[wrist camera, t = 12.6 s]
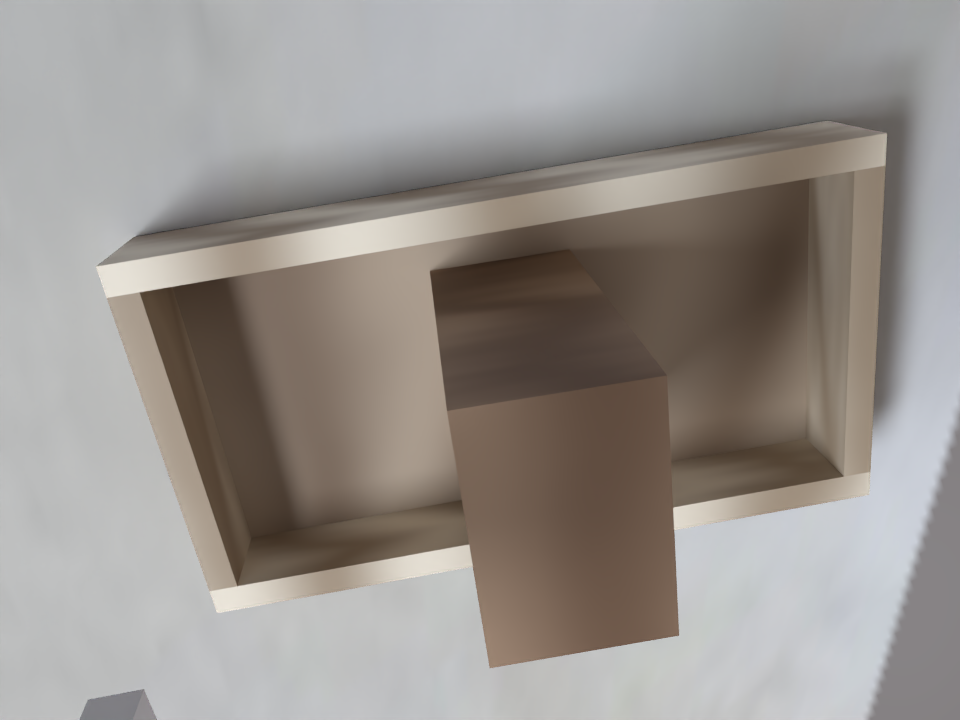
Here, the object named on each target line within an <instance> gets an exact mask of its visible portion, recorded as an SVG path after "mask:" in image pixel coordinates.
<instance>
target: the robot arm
mask: <svg viewBox="0 0 960 720" xmlns="http://www.w3.org/2000/svg"><path fill="white" fill-rule="evenodd" d="M80 720H157V719H156V716H155V714H154V712H153V710H152V707H151V705H150V703H149V700H148V698H147V696H146V693H145V691H144V689H143V690H138V691H133V692H127V693H122V694H117V695H111V696H106V697H101V698H95V699H90V700H88V701H87V704H86V706H85V708H84V711H83V713H82V715H81V717H80Z"/></svg>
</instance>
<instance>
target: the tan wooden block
mask: <svg viewBox="0 0 960 720" xmlns="http://www.w3.org/2000/svg"><path fill="white" fill-rule="evenodd" d="M430 278H431V286H432V294H433V302H434V310H435V318H436V326H437V335H438V343H439V351H440V359H441V367H442V375H443V383H444V392H445V400H446V408H447V415H448V421H449V427H450V433H451V439H452V445H453V451H454V457H455V463H456V469H457V475H458V480H459V486H460V492H461V498H462V504H463V510H464V516H465V522H466V528H467V534H468V540H469V546H470V552H471V558H472V564H473V570H474V576H475V582H476V588H477V594H478V600H479V606H480V612H481V618H482V624H483V630H484V636H485V642H486V648H487V654H488V660H489V666H490V668H493V667H499V666H505V665H511V664H517V663H522V662H528V661H534V660H540V659H546V658H551V657H557V656H563V655H569V654H575V653H580V652H586V651H592V650H598V649H603V648H609V647H615V646H621V645H627V644H632V643H638V642H644V641H650V640H656V639H661V638H667V637H673V636H679V625H678V603H677V581H676V560H675V538H674V516H673V494H672V472H671V450H670V428H669V406H668V384H667V375H666V373H665V372H664V371H663V370H662V368H661V367H660V366H659V364H658V363H657V362H656V360H655V359H654V358H653V357H652V355H651V354H650V353H649V351H648V350H647V349H646V348H645V346H644V345H643V344H642V342H641V341H640V340H639V338H638V337H637V336H636V335H635V333H634V332H633V331H632V329H631V328H630V327H629V326H628V324H627V323H626V322H625V320H624V319H623V318H622V317H621V315H620V314H619V313H618V311H617V310H616V309H615V307H614V306H613V305H612V304H611V302H610V301H609V300H608V298H607V297H606V296H605V295H604V293H603V292H602V291H601V289H600V288H599V287H598V286H597V284H596V283H595V282H594V280H593V279H592V278H591V276H590V275H589V274H588V273H587V271H586V270H585V269H584V267H583V266H582V265H581V264H580V262H579V261H578V260H577V258H576V257H575V256H574V255H573V253H572V252H571V251H570V249H568V250H561V251H555V252H548V253H542V254H536V255H529V256H523V257H516V258H510V259H503V260H497V261H491V262H484V263H478V264H471V265H465V266H458V267H452V268H445V269H439V270H433V271H430Z"/></svg>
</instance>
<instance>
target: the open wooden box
mask: <svg viewBox="0 0 960 720" xmlns="http://www.w3.org/2000/svg"><path fill="white" fill-rule="evenodd" d="M886 146H887V133H884V132H880V131H875V130H870V129H865V128H861V127H856V126H851V125H846V124H842V123H837V122H832V121H822V122H816V123H810V124H804V125H798V126H792V127H786V128H780V129H774V130H768V131H762V132H756V133H750V134H744V135H738V136H732V137H726V138H720V139H714V140H708V141H702V142H697V143H691V144H685V145H679V146H673V147H667V148H661V149H655V150H649V151H643V152H637V153H631V154H625V155H619V156H613V157H607V158H601V159H595V160H589V161H583V162H577V163H572V164H566V165H560V166H554V167H548V168H542V169H536V170H530V171H524V172H518V173H512V174H506V175H500V176H494V177H488V178H482V179H476V180H470V181H464V182H458V183H452V184H447V185H441V186H435V187H429V188H423V189H417V190H411V191H405V192H399V193H393V194H387V195H381V196H375V197H369V198H363V199H357V200H351V201H345V202H339V203H333V204H327V205H322V206H316V207H310V208H304V209H298V210H292V211H286V212H280V213H274V214H268V215H262V216H256V217H250V218H244V219H238V220H232V221H226V222H220V223H214V224H208V225H202V226H197V227H191V228H185V229H179V230H173V231H167V232H161V233H155V234H149V235H143V236H137V237H133V238H132V239H131V240H130V241H128V242H127V243H126V244H124V245H123V246H122V247H121V248H119V249H118V250H117V251H115V252H114V253H113V254H111V255H110V256H109V257H108V258H106V259H105V260H104V261H102V262H101V263H100V264H99V265H97V266H96V269H97V271H98V274H99V277H100V280H101V283H102V286H103V289H104V291H105V294H106V297H107V300H108V303H109V306H110V309H111V311H112V314H113V317H114V320H115V323H116V326H117V328H118V331H119V334H120V337H121V340H122V343H123V346H124V348H125V351H126V354H127V357H128V360H129V363H130V366H131V368H132V371H133V374H134V377H135V380H136V383H137V386H138V388H139V391H140V394H141V397H142V400H143V403H144V405H145V408H146V411H147V414H148V417H149V420H150V423H151V425H152V428H153V431H154V434H155V437H156V440H157V443H158V445H159V448H160V451H161V454H162V457H163V460H164V463H165V465H166V468H167V471H168V474H169V477H170V480H171V483H172V485H173V488H174V491H175V494H176V497H177V500H178V502H179V505H180V508H181V511H182V514H183V517H184V520H185V522H186V525H187V528H188V531H189V534H190V537H191V540H192V542H193V545H194V548H195V551H196V554H197V557H198V560H199V562H200V565H201V568H202V571H203V574H204V577H205V580H206V582H207V585H208V588H209V591H210V594H211V597H212V599H213V602H214V605H215V608H216V611H217V613H221V612H226V611H232V610H237V609H243V608H248V607H254V606H259V605H265V604H270V603H276V602H281V601H287V600H292V599H298V598H303V597H309V596H315V595H320V594H326V593H331V592H337V591H342V590H348V589H353V588H359V587H364V586H370V585H375V584H381V583H386V582H392V581H397V580H403V579H408V578H414V577H419V576H425V575H430V574H436V573H441V572H447V571H452V570H458V569H463V568H469V567H473V564H472V558H471V552H470V546H469V540H468V534H467V528H466V522H465V516H464V510H463V504H462V498H461V492H460V486H459V480H458V475H457V469H456V463H455V457H454V451H453V445H452V439H451V433H450V427H449V421H448V415H447V408H446V400H445V392H444V383H443V375H442V367H441V359H440V351H439V343H438V335H437V326H436V318H435V310H434V302H433V294H432V286H431V278H430V271H433V270H439V269H445V268H452V267H458V266H465V265H471V264H478V263H484V262H491V261H497V260H503V259H510V258H516V257H523V256H529V255H536V254H542V253H548V252H555V251H561V250H568V249H570V251H571V252H572V253H573V255H574V256H575V257H576V258H577V260H578V261H579V262H580V264H581V265H582V266H583V267H584V269H585V270H586V271H587V273H588V274H589V275H590V276H591V278H592V279H593V280H594V282H595V283H596V284H597V286H598V287H599V288H600V289H601V291H602V292H603V293H604V295H605V296H606V297H607V298H608V300H609V301H610V302H611V304H612V305H613V306H614V307H615V309H616V310H617V311H618V313H619V314H620V315H621V317H622V318H623V319H624V320H625V322H626V323H627V324H628V326H629V327H630V328H631V329H632V331H633V332H634V333H635V335H636V336H637V337H638V338H639V340H640V341H641V342H642V344H643V345H644V346H645V348H646V349H647V350H648V351H649V353H650V354H651V355H652V357H653V358H654V359H655V360H656V362H657V363H658V364H659V366H660V367H661V368H662V370H663V371H664V372H665V373H666V375H667V384H668V406H669V428H670V450H671V472H672V494H673V516H674V530H678V529H684V528H689V527H695V526H700V525H706V524H711V523H717V522H722V521H728V520H733V519H739V518H744V517H750V516H755V515H761V514H766V513H772V512H777V511H783V510H788V509H794V508H799V507H805V506H810V505H816V504H821V503H827V502H832V501H838V500H843V499H849V498H854V497H860V496H865V495H869V489H870V469H871V448H872V428H873V408H874V388H875V368H876V348H877V328H878V307H879V287H880V267H881V247H882V227H883V207H884V187H885V166H886Z"/></svg>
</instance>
